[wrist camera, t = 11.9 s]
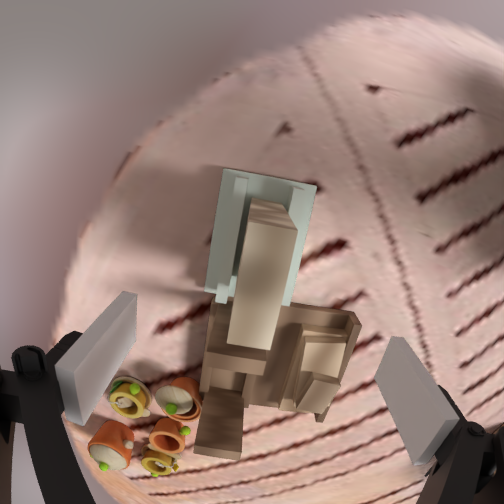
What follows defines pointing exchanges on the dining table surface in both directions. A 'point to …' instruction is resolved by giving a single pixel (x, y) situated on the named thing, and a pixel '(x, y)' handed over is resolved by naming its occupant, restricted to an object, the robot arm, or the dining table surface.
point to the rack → (271, 371)
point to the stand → (235, 220)
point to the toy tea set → (162, 436)
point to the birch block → (262, 274)
